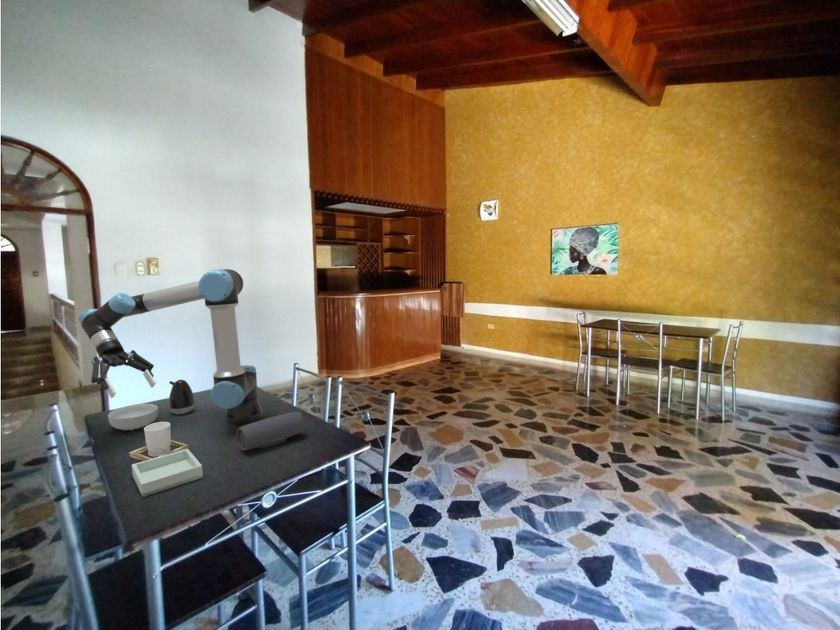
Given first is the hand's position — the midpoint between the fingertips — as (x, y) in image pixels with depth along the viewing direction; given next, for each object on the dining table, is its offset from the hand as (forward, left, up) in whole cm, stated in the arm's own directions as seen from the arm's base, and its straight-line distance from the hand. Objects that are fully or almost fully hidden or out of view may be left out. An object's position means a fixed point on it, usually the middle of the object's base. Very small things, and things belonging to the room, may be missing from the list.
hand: (134, 390), depth 148 cm
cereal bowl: (+8, -22, -22) cm, 32 cm away
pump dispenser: (-7, -34, -22) cm, 41 cm away
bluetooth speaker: (-46, +13, -22) cm, 53 cm away
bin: (-15, +28, -22) cm, 38 cm away
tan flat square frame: (-8, +8, -22) cm, 24 cm away
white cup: (-8, +8, -22) cm, 24 cm away
